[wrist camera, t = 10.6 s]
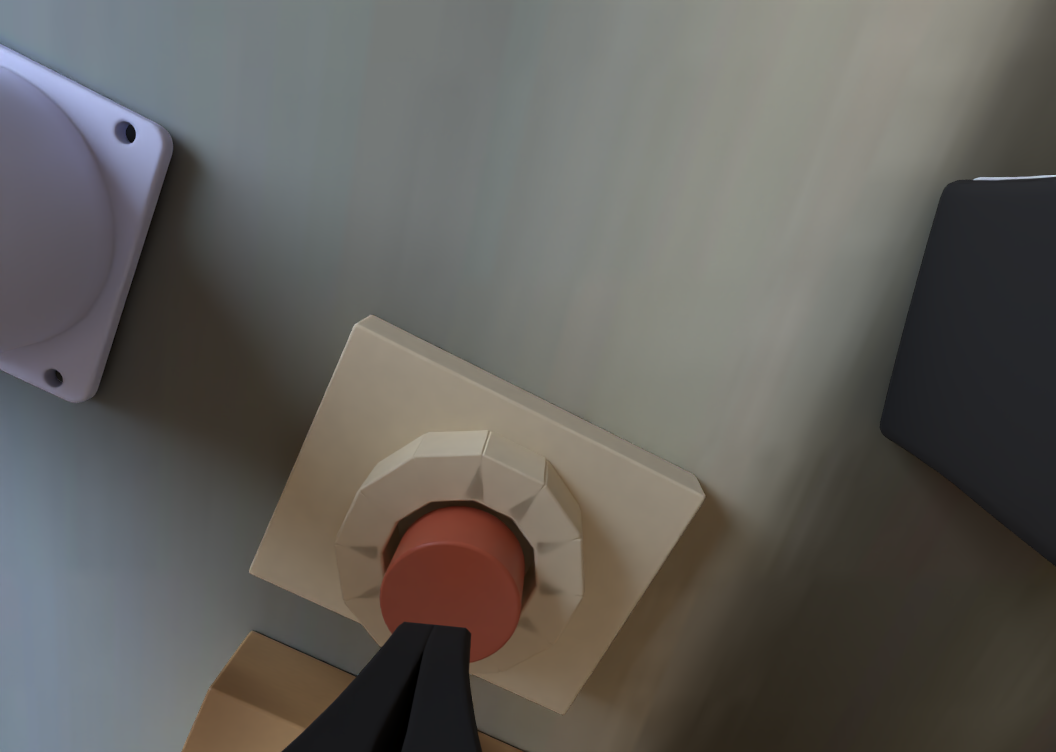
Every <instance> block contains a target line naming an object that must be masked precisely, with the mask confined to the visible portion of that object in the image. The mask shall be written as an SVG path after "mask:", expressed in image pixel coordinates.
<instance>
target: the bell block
mask: <svg viewBox="0 0 1056 752" xmlns="http://www.w3.org/2000/svg"><path fill="white" fill-rule="evenodd" d="M705 497H706V496H705V494H704V492H703V490H702V488H701V486H700V484H699V482H698V480H697V478H696V476H695V475H694V474H692V473H690V472H688V471H686V470H684V469H682V468H680V467H678V466H676V465H674V464H672V463H670V462H668V461H666V460H664V459H662V458H660V457H658V456H656V455H654V454H652V453H650V452H648V451H646V450H644V449H642V448H640V447H638V446H636V445H634V444H632V443H630V442H628V441H626V440H624V439H622V438H620V437H618V436H616V435H614V434H612V433H609V432H607V431H605V430H603V429H601V428H599V427H597V426H595V425H593V424H591V423H589V422H587V421H585V420H583V419H581V418H579V417H577V416H575V415H573V414H571V413H569V412H567V411H565V410H563V409H561V408H559V407H557V406H555V405H553V404H551V403H549V402H547V401H545V400H543V399H541V398H539V397H537V396H535V395H533V394H531V393H529V392H527V391H525V390H523V389H521V388H519V387H517V386H515V385H513V384H511V383H509V382H507V381H505V380H503V379H501V378H499V377H497V376H495V375H493V374H491V373H489V372H487V371H485V370H483V369H481V368H479V367H477V366H475V365H473V364H471V363H469V362H467V361H465V360H462V359H460V358H458V357H456V356H454V355H452V354H450V353H448V352H446V351H444V350H442V349H440V348H438V347H436V346H434V345H432V344H430V343H428V342H426V341H424V340H422V339H420V338H418V337H416V336H414V335H412V334H410V333H408V332H406V331H404V330H402V329H400V328H398V327H396V326H394V325H392V324H390V323H388V322H386V321H384V320H382V319H380V318H378V317H376V316H374V315H370V316H368V317H366V318H365V319H363V320H361V321H360V322H358V323H356V324H355V325H354V327H353V329H352V332H351V334H350V336H349V339H348V341H347V343H346V346H345V348H344V350H343V353H342V355H341V357H340V360H339V362H338V364H337V367H336V369H335V371H334V374H333V376H332V378H331V381H330V383H329V385H328V387H327V390H326V392H325V394H324V397H323V399H322V401H321V404H320V406H319V408H318V411H317V413H316V415H315V418H314V420H313V422H312V425H311V427H310V429H309V432H308V434H307V436H306V439H305V441H304V443H303V446H302V448H301V450H300V453H299V455H298V457H297V460H296V462H295V464H294V467H293V469H292V471H291V474H290V476H289V478H288V481H287V483H286V485H285V488H284V490H283V492H282V495H281V497H280V499H279V502H278V504H277V506H276V509H275V511H274V513H273V516H272V518H271V520H270V523H269V525H268V527H267V530H266V532H265V534H264V536H263V539H262V541H261V543H260V546H259V548H258V550H257V553H256V555H255V557H254V560H253V562H252V564H251V567H250V569H249V573H250V574H252V575H254V576H257V577H259V578H261V579H263V580H265V581H268V582H270V583H272V584H274V585H276V586H279V587H281V588H283V589H285V590H287V591H290V592H292V593H294V594H296V595H298V596H301V597H303V598H305V599H307V600H309V601H312V602H314V603H316V604H318V605H320V606H323V607H325V608H327V609H329V610H331V611H334V612H336V613H338V614H340V615H343V616H345V617H347V618H349V619H351V620H354V621H356V622H358V623H360V624H362V625H363V627H364V628H365V629H366V630H367V632H368V633H369V634H370V635H371V636H372V638H373V639H374V640H375V641H376V643H377V644H378V645H379V646H380V647H382V646H383V645H384V644H385V642H386V641H387V640H388V639H389V637H390V636H391V635H392V634H391V632H390V631H389V629H388V627H387V625H386V624H385V621H384V619H383V616H382V612H381V608H380V598H379V596H380V587H381V583H382V580H383V577H384V575H385V573H386V571H387V569H388V566H389V564H390V562H391V560H392V558H393V556H394V554H395V552H396V549H397V547H398V545H399V543H400V541H401V539H402V537H403V535H404V534H405V532H406V530H407V529H408V528H409V527H410V525H411V524H412V523H414V522H415V521H416V520H417V519H418V518H420V517H421V516H423V515H424V514H426V513H428V512H430V511H433V510H436V509H439V508H443V507H449V506H466V507H473V508H476V509H480V510H483V511H485V512H488V513H490V514H491V515H493V516H495V517H497V518H498V519H499V520H501V521H502V522H503V523H504V524H505V525H506V526H508V527H509V529H510V530H511V531H512V532H513V533H514V535H515V536H516V538H517V540H518V541H519V543H520V546H521V548H522V551H523V554H524V560H525V574H524V584H523V595H522V605H521V613H520V619H519V622H518V625H517V628H516V630H515V632H514V633H513V635H512V636H511V638H510V639H509V640H508V641H507V643H506V644H505V645H504V646H503V647H502V648H500V649H499V650H498V651H497V652H495V653H494V654H492V655H490V656H489V657H487V658H484V659H482V660H479V661H476V662H473V663H470V665H469V674H473V675H475V676H477V677H479V678H481V679H484V680H486V681H488V682H490V683H492V684H495V685H497V686H499V687H501V688H503V689H506V690H508V691H510V692H512V693H514V694H517V695H519V696H521V697H523V698H525V699H528V700H530V701H532V702H534V703H536V704H539V705H541V706H543V707H545V708H547V709H550V710H552V711H554V712H556V713H558V714H561V715H565V713H566V712H567V710H568V709H569V707H570V706H571V704H572V703H573V701H574V700H575V698H576V697H577V695H578V693H579V692H580V690H581V689H582V687H583V686H584V684H585V683H586V681H587V680H588V678H589V677H590V675H591V674H592V672H593V670H594V669H595V667H596V666H597V664H598V663H599V661H600V660H601V658H602V657H603V655H604V654H605V652H606V651H607V649H608V647H609V646H610V644H611V643H612V641H613V640H614V638H615V637H616V635H617V634H618V632H619V631H620V629H621V627H622V626H623V624H624V623H625V621H626V620H627V618H628V617H629V615H630V614H631V612H632V611H633V609H634V608H635V606H636V604H637V603H638V601H639V600H640V598H641V597H642V595H643V594H644V592H645V591H646V589H647V588H648V586H649V584H650V583H651V581H652V580H653V578H654V577H655V575H656V574H657V572H658V571H659V569H660V568H661V566H662V565H663V563H664V561H665V560H666V558H667V557H668V555H669V554H670V552H671V551H672V549H673V548H674V546H675V545H676V543H677V541H678V540H679V538H680V537H681V535H682V534H683V532H684V531H685V529H686V528H687V526H688V525H689V523H690V522H691V520H692V518H693V517H694V515H695V514H696V512H697V511H698V509H699V508H700V506H701V505H702V503H703V502H704V500H705Z"/></svg>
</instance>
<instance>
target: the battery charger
mask: <svg viewBox="0 0 1056 752" xmlns="http://www.w3.org/2000/svg"><path fill="white" fill-rule="evenodd" d="M880 430H881V432H882V434H883V435H884V436H885V437H887V438H888V439H890V440H891V441H893V442H895V443H896V444H898V445H899V446H901V447H902V448H904V449H905V450H907V451H908V452H910V453H912V454H913V455H915V456H916V457H917V458H919V459H920V460H921V461H923V462H924V463H926V464H927V465H928V466H930V467H931V468H933V469H934V470H936V471H937V472H939V473H940V474H941V475H943V476H944V477H945V478H947V479H948V480H949V481H951V482H952V483H953V484H955V485H956V486H957V487H958V488H959V489H961V490H962V491H963V492H964V493H965V494H967V495H968V496H969V497H970V498H971V499H973V500H974V501H975V502H976V503H977V504H978V505H980V506H981V507H982V508H983V509H984V510H986V511H987V512H988V513H990V514H991V515H992V516H993V517H994V518H996V519H997V520H998V521H999V522H1001V523H1002V524H1003V525H1004V526H1005V527H1007V528H1008V529H1009V530H1011V531H1012V532H1013V533H1014V534H1016V535H1017V536H1018V537H1019V538H1021V539H1022V540H1023V541H1024V542H1026V543H1027V544H1028V545H1029V546H1031V547H1032V548H1033V549H1034V550H1036V551H1037V552H1038V553H1039V554H1041V555H1042V556H1043V557H1044V558H1046V559H1047V560H1048V561H1050V562H1051V563H1052V564H1053V565H1055V566H1056V175H1047V176H1032V177H979V178H976V179H973V180H958V181H955V182H952V183H950V184H948V185H947V186H946V187H945V188H944V190H943V192H942V195H941V197H940V201H939V204H938V208H937V211H936V215H935V218H934V222H933V225H932V229H931V232H930V236H929V239H928V242H927V246H926V250H925V253H924V257H923V260H922V264H921V268H920V271H919V275H918V279H917V282H916V286H915V289H914V293H913V297H912V300H911V304H910V308H909V311H908V315H907V319H906V323H905V326H904V330H903V334H902V338H901V342H900V346H899V350H898V353H897V357H896V361H895V365H894V369H893V373H892V376H891V380H890V384H889V389H888V393H887V397H886V401H885V405H884V409H883V413H882V417H881V421H880Z"/></svg>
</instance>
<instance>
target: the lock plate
mask: <svg viewBox="0 0 1056 752" xmlns="http://www.w3.org/2000/svg"><path fill="white" fill-rule="evenodd" d="M355 678H356V676H353V675H351V674H349V673H347V672H344V671H342V670H340V669H338V668H335V667H333V666H331V665H329V664H326V663H324V662H322V661H320V660H317V659H315V658H313V657H311V656H308V655H306V654H304V653H302V652H299V651H297V650H295V649H293V648H291V647H288V646H286V645H284V644H282V643H279V642H277V641H275V640H273V639H270V638H268V637H266V636H264V635H261V634H259V633H257V632H255V631H251V632H249V633H248V635H247V636H246V638H245V639H244V640H243V642H242V643H241V645H240V646H239V647H238V649H237V650H236V651H235V653H234V654H233V656H232V657H231V658H230V660H229V661H228V662H227V664H226V665H225V667H224V668H223V669H222V671H221V672H220V674H219V675H218V676H217V678H216V679H215V680H214V682H213V683H212V685H211V686H210V687H209V689H208V691H207V694H206V696H205V698H204V701H203V703H202V705H201V708H200V710H199V712H198V714H197V717H196V719H195V721H194V724H193V726H192V728H191V731H190V733H189V735H188V737H187V740H186V742H185V744H184V747H183V749H182V751H181V752H281V751H282V750H284V749H285V748H286V747H287V746H288V745H289V744H290V743H291V742H292V741H294V740H295V739H296V738H297V737H298V736H299V735H300V734H301V733H302V732H303V731H304V730H305V729H306V728H307V727H308V726H309V725H310V724H311V723H312V722H313V721H314V720H315V719H316V718H317V717H318V716H320V715H321V714H322V713H323V712H324V711H325V710H326V709H327V708H328V707H329V706H330V705H331V704H332V703H333V702H334V701H335V700H336V698H337V697H338V696H339V695H340V694H341V693H342V692H343V691H344V690H345V689H346V688H347V687H348V685H349V684H350V683H351V682H352V681H353V680H354V679H355ZM478 736H479V740H480V744H481V748H482V752H524V751H521V750H519V749H517V748H515V747H512V746H510V745H508V744H506V743H503V742H501V741H499V740H497V739H494V738H492V737H490V736H488V735H485V734H483V733H481V732H479V731H478Z"/></svg>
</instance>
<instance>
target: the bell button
mask: <svg viewBox="0 0 1056 752" xmlns="http://www.w3.org/2000/svg"><path fill="white" fill-rule="evenodd" d="M524 574H525V560H524V554H523V551H522V548H521V546H520V543H519V541H518V540H517V538H516V536H515V535H514V533H513V532H512V531H511V530H510V529H509V527H508V526H506V525H505V524H504V523H503V522H502V521H501V520H499V519H498V518H497V517H495V516H493V515H491V514H490V513H488V512H485V511H483V510H480V509H476V508H473V507H466V506H449V507H443V508H439V509H436V510H433V511H430V512H428V513H426V514H424V515H423V516H421V517H420V518H418V519H417V520H416V521H415V522H414V523H412V524H411V525H410V527H409V528H408V529H407V530H406V532H405V534H404V535H403V537H402V539H401V541H400V543H399V545H398V547H397V549H396V552H395V554H394V556H393V558H392V560H391V562H390V564H389V566H388V569H387V571H386V573H385V575H384V577H383V580H382V583H381V587H380V596H379V598H380V608H381V612H382V616H383V619H384V621H385V624H386V625H387V627H388V629H389V631H390V632H391V634H393V632H394V631H395V630H396V628H397V627H398V626H399V625H400V624H402V623H403V622H413V623H423V624H433V625H443V626H453V627H464V628H467V629H468V630H469V632H470V633H471V648H470V663H473V662H476V661H479V660H482V659H484V658H487V657H489V656H490V655H492V654H494V653H495V652H497V651H498V650H499V649H500V648H502V647H503V646H504V645H505V644H506V643H507V641H508V640H509V639H510V638H511V636H512V635H513V633H514V632H515V630H516V628H517V625H518V622H519V619H520V613H521V605H522V595H523V584H524Z"/></svg>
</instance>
